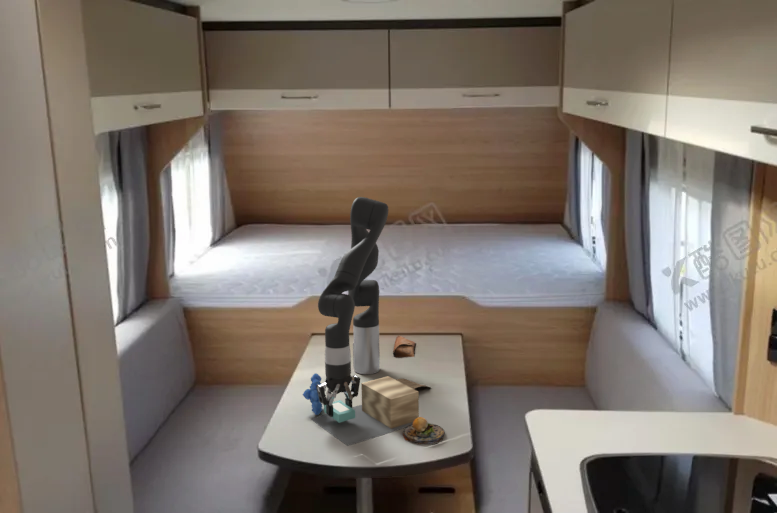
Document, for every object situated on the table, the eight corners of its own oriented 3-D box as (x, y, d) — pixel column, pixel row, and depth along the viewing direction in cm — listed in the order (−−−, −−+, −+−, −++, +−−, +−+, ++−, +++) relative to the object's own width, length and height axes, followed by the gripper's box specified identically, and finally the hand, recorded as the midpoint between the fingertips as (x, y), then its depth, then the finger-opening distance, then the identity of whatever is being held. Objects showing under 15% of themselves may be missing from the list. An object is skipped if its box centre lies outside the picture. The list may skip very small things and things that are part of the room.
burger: (450, 443, 193) (450, 418, 192) (410, 449, 190) (410, 423, 189) (435, 425, 205) (435, 402, 203) (397, 431, 201) (397, 407, 200)
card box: (324, 411, 208) (323, 404, 208) (340, 407, 211) (339, 399, 211) (339, 422, 201) (338, 414, 200) (355, 417, 204) (355, 410, 203)
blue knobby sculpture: (303, 405, 220) (301, 369, 218) (324, 404, 221) (323, 368, 219) (302, 420, 209) (301, 382, 207) (325, 419, 210) (324, 381, 208)
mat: (310, 419, 209) (310, 418, 209) (381, 399, 224) (381, 399, 224) (347, 446, 192) (347, 445, 191) (422, 423, 206) (422, 422, 206)
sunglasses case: (415, 357, 264) (406, 342, 263) (399, 366, 265) (390, 351, 264) (416, 342, 282) (407, 328, 281) (401, 350, 283) (392, 337, 282)
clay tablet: (402, 403, 222) (402, 394, 221) (376, 395, 229) (376, 386, 229) (434, 389, 234) (434, 380, 233) (408, 381, 241) (408, 373, 241)
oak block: (362, 410, 215) (361, 383, 213) (388, 403, 220) (388, 376, 219) (391, 428, 202) (390, 399, 200) (418, 420, 207) (418, 391, 206)
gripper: (352, 351, 210) (353, 403, 213) (310, 360, 202) (312, 415, 205) (365, 358, 203) (366, 411, 207) (322, 368, 196) (324, 424, 199)
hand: (339, 413), depth 206 cm, fingers closed on card box, 5 cm apart
